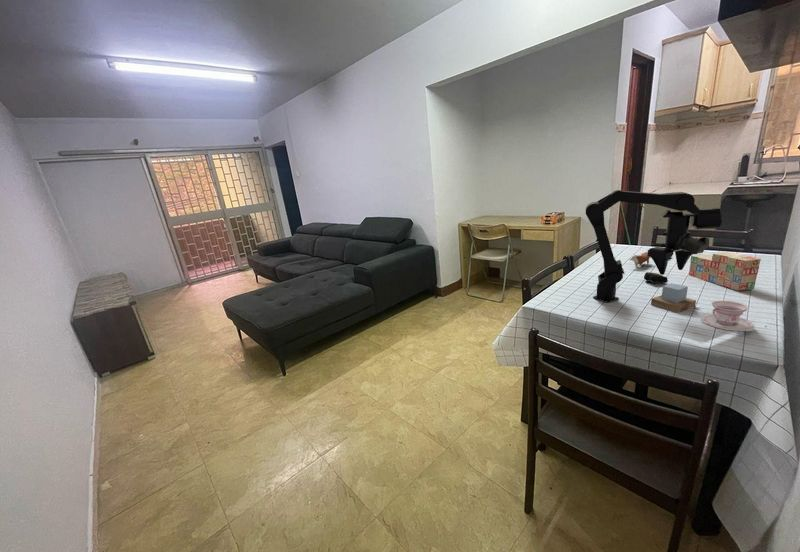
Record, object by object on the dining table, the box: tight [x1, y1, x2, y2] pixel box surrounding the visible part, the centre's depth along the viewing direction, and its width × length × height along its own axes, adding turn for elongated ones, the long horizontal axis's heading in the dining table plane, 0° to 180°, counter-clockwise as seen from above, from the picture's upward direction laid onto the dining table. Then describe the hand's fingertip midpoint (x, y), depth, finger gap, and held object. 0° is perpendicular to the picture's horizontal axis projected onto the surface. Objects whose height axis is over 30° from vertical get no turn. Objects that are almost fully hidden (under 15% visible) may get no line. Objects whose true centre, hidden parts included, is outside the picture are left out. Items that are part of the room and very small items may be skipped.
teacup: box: [700, 300, 756, 332], centre depth 99 cm, size 12×12×6 cm
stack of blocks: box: [688, 251, 762, 292], centre depth 129 cm, size 21×6×12 cm, turn 2°
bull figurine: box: [629, 251, 650, 269], centre depth 156 cm, size 4×13×8 cm, turn 115°
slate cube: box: [661, 283, 689, 303], centre depth 114 cm, size 5×5×5 cm
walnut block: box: [650, 294, 697, 313], centre depth 115 cm, size 9×9×3 cm
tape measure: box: [643, 271, 669, 284], centre depth 137 cm, size 7×7×4 cm
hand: (671, 272), depth 114 cm, fingers open, 9 cm apart
